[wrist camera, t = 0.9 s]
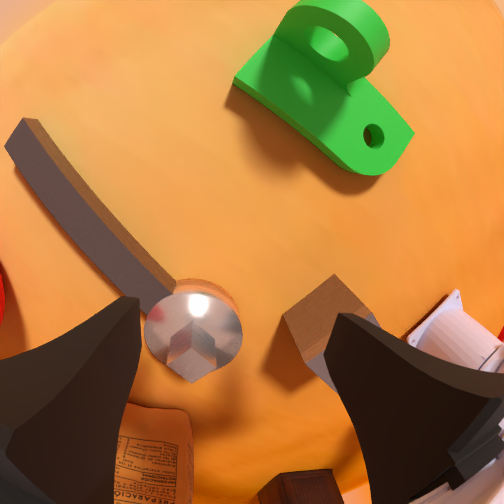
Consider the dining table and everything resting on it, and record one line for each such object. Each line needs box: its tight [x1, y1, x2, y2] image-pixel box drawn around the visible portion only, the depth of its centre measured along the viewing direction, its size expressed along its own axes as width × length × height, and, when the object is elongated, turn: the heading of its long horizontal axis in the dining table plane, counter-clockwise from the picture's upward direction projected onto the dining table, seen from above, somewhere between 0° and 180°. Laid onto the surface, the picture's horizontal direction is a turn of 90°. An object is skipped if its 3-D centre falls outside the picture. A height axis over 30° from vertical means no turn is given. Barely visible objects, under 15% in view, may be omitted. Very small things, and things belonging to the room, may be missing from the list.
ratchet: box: [4, 118, 243, 383], centre depth 15 cm, size 24×7×5 cm, turn 39°
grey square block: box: [283, 274, 382, 393], centre depth 19 cm, size 5×5×6 cm
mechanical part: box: [232, 0, 415, 176], centre depth 13 cm, size 12×6×8 cm, turn 54°
